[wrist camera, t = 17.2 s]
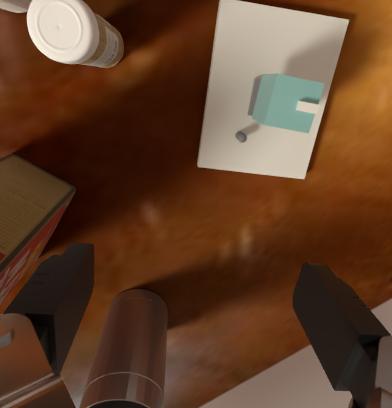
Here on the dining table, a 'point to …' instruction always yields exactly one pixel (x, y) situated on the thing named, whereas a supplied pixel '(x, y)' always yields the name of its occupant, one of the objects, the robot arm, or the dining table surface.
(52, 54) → the sprinkles bottle
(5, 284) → the food packaging
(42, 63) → the dining table surface
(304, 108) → the mint cube with tab
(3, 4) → the cup
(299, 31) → the stud board
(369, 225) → the dining table surface
